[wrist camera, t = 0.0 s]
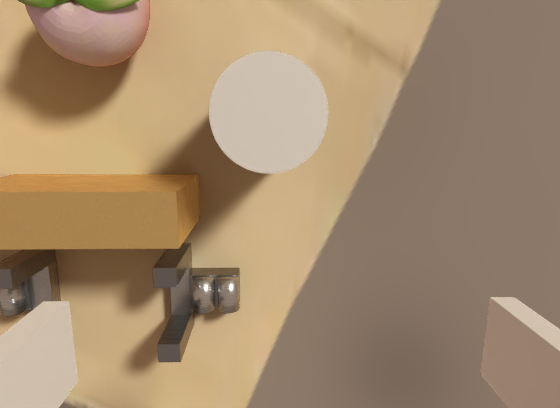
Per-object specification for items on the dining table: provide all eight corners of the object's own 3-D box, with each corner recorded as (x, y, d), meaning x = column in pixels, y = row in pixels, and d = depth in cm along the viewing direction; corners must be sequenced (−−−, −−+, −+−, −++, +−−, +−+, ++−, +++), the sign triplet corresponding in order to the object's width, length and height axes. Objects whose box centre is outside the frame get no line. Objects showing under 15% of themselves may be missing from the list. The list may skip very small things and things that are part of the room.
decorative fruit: (77, 80, 37) (9, 64, 27) (54, -14, 35) (-28, -67, 25) (175, 65, 37) (143, 44, 27) (157, -29, 35) (115, -88, 25)
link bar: (15, 174, 38) (-70, 191, 29) (198, 174, 39) (176, 191, 29) (21, 218, 39) (-59, 249, 30) (200, 217, 40) (179, 248, 30)
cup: (276, 174, 39) (281, 196, 27) (209, 125, 38) (185, 126, 26) (325, 108, 38) (352, 101, 26) (258, 55, 37) (255, 24, 25)
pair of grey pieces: (-17, 244, 40) (-77, 269, 33) (240, 243, 41) (234, 267, 34) (-5, 325, 41) (-58, 365, 35) (241, 322, 42) (236, 361, 36)
